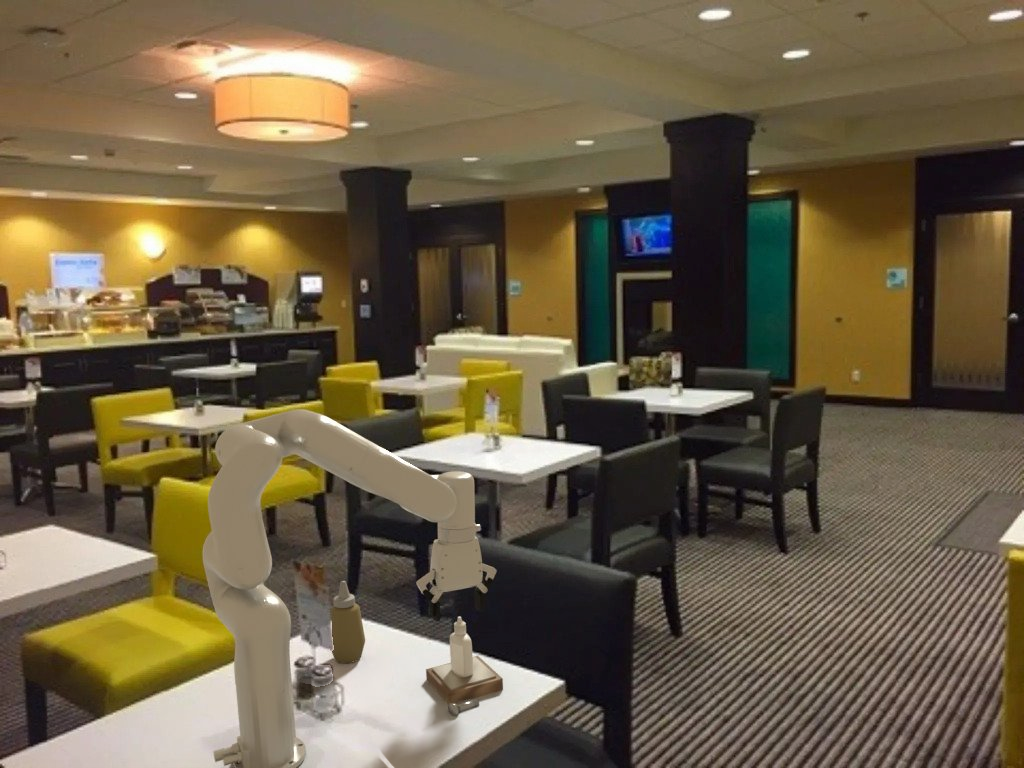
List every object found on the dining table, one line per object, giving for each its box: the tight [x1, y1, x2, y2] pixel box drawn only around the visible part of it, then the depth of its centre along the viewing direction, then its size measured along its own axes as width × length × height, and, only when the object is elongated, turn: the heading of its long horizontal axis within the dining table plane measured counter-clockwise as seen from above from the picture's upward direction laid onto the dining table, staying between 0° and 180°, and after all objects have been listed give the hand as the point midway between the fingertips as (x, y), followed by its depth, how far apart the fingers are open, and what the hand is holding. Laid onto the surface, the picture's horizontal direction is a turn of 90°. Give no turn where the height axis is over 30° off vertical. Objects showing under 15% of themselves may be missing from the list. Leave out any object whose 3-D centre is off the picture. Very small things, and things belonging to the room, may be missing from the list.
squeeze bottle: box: [329, 580, 366, 664], centre depth 193 cm, size 8×8×18 cm
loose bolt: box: [447, 698, 480, 717], centre depth 169 cm, size 6×3×3 cm
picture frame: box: [425, 655, 504, 705], centre depth 179 cm, size 12×12×3 cm
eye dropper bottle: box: [449, 616, 474, 678], centre depth 177 cm, size 4×6×12 cm
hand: (457, 614), depth 176 cm, fingers open, 9 cm apart
